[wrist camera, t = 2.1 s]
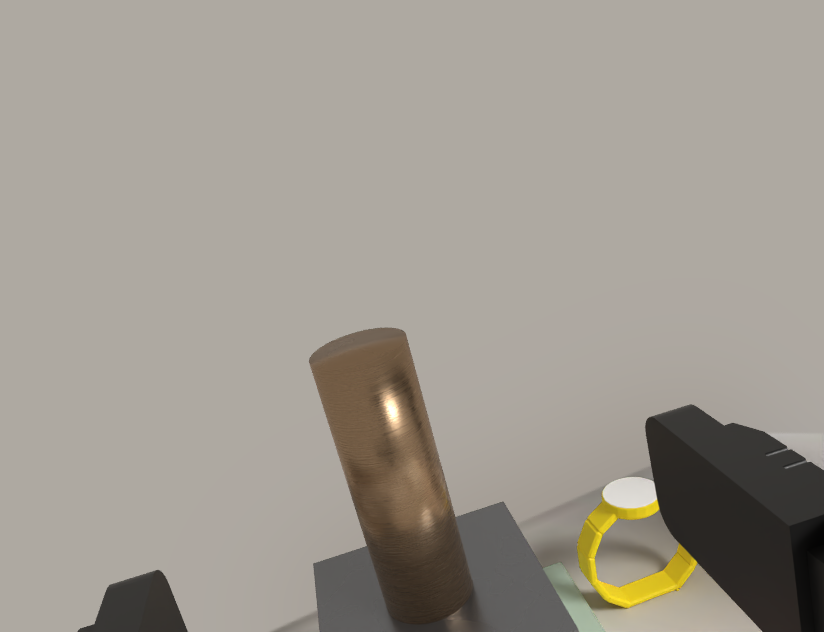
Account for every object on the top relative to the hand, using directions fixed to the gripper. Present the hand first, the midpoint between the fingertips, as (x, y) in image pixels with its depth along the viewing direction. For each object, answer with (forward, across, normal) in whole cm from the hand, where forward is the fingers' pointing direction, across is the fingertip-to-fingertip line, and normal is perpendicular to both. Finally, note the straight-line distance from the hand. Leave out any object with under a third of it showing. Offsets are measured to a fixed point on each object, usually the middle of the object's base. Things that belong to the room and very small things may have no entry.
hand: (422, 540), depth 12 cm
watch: (+20, -11, +20) cm, 31 cm away
